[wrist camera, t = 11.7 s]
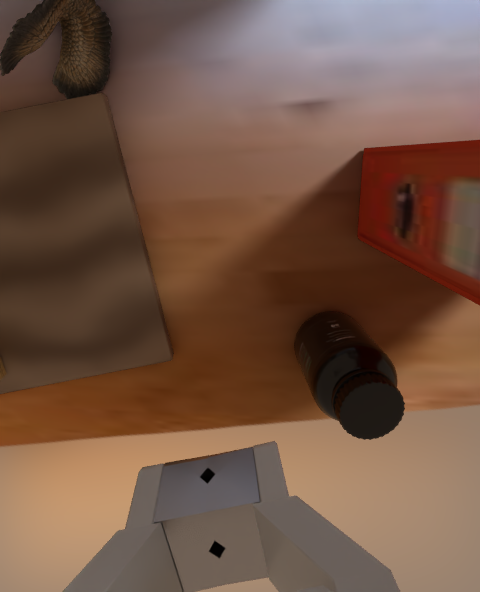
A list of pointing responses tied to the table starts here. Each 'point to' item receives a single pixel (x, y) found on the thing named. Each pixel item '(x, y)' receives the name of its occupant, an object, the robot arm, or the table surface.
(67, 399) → the table surface
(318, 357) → the supplement bottle
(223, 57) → the table surface
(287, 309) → the table surface
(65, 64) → the eagle figurine
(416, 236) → the file binder
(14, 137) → the walnut base plate
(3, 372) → the brass link
